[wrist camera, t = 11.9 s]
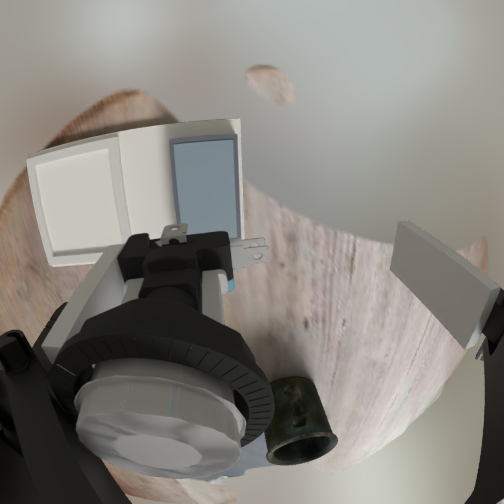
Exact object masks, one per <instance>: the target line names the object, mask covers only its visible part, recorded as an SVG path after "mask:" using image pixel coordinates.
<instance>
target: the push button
mask: <svg viewBox="0 0 504 504" xmlns="http://www.w3.org/2000/svg"><path fill="white" fill-rule="evenodd" d="M173 228H179V229H177V230H171V229H173ZM187 228H188V224H187V223H180V224H172V225H167V226H165V227H164V229H163V232H162V234H161V235H162V236H161V237H160V238H158V239H151V240H150V238H149V234H148V233H140V234H134V235H132V236H130V237H129V238H128V240H127V241H126V243H125V244H124V245H125V246H124V248H123V249H122V251H121V252H120V254H119V255H118V257H117V259H118V263H119V266H120V270H121V273H122V277H123V280H124V283H125V285H124V287H123V290H124V293H125V295H124V298H123V300H122V303H121V305H119V306H117V307H114V308H112V309H110V310H107V311H105V312H103V313H100V314H98V315H96V316H93V317H91V318H89V319H87V320H86V321H85V322H84V323H83V325H82V328H81V330H80V332H79V333H77V334H75V335H74V336H72V337H71V338H70V339H69V340H67V341H66V343H65V344H64V345H63V346H62V347H61V349H60V351H59V352H58V354H57V357H56V359H55V361H54V363H53V366H52V369H51V384H52V388H53V391H54V394H55V396H56V398H57V400H58V402H59V403H60V405H61V406H62V408H63V409H64V410H65V411H66V413H67V414H68V415H69V416H70V417H71V418H72V419H73V420H74V421H75V422H76V423H77V424H76V432H77V434H78V436H79V440H80V441H81V442H82V443H83V444H84V445H85V447H86V448H87V449H88V450H90V451H91V452H92V453H94V454H95V455H96V456H98V457H100V458H101V459H103V460H105V461H107V462H109V463H110V464H112V465H115V466H117V467H119V468H122V469H125V470H129V471H132V472H136V473H139V474H142V475H147V476H154V477H163V478H175V479H183V478H194V477H204V476H209V475H213V474H215V473H218V472H221V471H224V470H226V469H229V468H230V467H231V466H233V465H235V463H236V461H237V460H238V459H239V458H240V457H241V453H240V452H241V447H243V446H245V445H247V444H249V443H250V442H252V441H253V440H255V439H256V438H257V437H259V436H260V435H261V434H262V433H263V432H264V431H265V430H266V429H267V427H268V426H269V425H270V423H271V421H272V419H273V416H274V411H275V403H274V398H273V394H272V390H271V386H270V383H269V381H268V379H267V377H266V375H265V374H264V373H263V371H262V370H261V369H260V368H259V367H258V365H257V364H256V362H255V358H254V356H253V354H252V352H251V351H250V349H249V347H248V346H247V344H246V342H245V341H244V339H243V337H242V336H241V334H240V333H238V332H237V331H235V330H233V329H231V328H229V327H227V326H225V322H224V313H223V303H222V294H225V293H227V292H231V291H232V290H234V288H235V286H234V276H233V269H241V268H245V265H249V264H257V263H265V262H268V261H269V247H268V246H265V239H264V238H255V239H246V240H241V237H237V238H229V235H228V232H226V231H215V232H207V233H198V234H190V235H186V233H187ZM252 243H257V244H258V247H250V246H251V244H252ZM255 254H262V256H261V258H259V259H255V258H254V257H253V255H255ZM93 364H95V366H94V369H93V367H92V365H93ZM232 387H233V388H234V390H233V388H232Z"/></svg>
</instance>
